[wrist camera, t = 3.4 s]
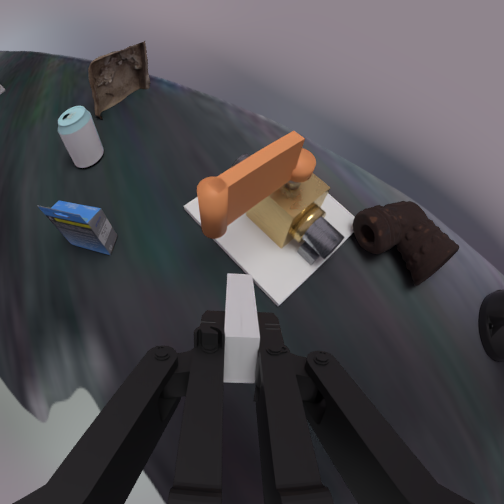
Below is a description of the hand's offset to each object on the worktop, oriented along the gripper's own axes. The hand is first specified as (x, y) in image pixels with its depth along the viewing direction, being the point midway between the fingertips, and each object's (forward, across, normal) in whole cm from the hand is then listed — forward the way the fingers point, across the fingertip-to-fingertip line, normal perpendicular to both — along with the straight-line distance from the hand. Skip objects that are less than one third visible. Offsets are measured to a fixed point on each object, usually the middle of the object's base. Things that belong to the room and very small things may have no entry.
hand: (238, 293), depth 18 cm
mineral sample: (+55, -30, +21) cm, 66 cm away
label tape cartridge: (+27, -24, -6) cm, 37 cm away
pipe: (+28, +28, -5) cm, 40 cm away
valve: (+31, +7, -2) cm, 32 cm away
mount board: (+31, +7, -2) cm, 32 cm away
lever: (+18, +3, +4) cm, 19 cm away
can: (+41, -32, +7) cm, 52 cm away
